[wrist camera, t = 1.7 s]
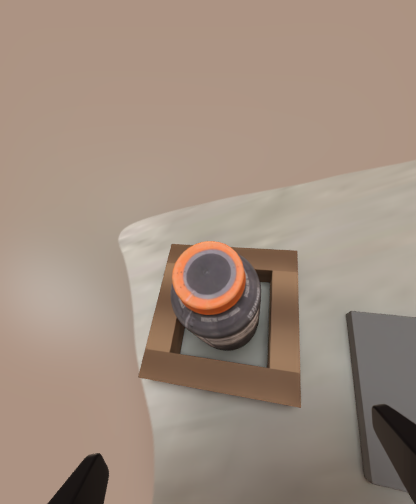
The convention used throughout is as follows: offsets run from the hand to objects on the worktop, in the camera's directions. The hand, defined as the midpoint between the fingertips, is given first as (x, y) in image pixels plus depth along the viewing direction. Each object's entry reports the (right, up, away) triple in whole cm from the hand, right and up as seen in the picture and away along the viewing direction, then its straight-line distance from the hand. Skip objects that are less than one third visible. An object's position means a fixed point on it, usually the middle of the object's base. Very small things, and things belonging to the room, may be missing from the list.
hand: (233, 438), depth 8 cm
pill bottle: (+1, 0, +15) cm, 15 cm away
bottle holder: (+1, 0, +15) cm, 15 cm away
